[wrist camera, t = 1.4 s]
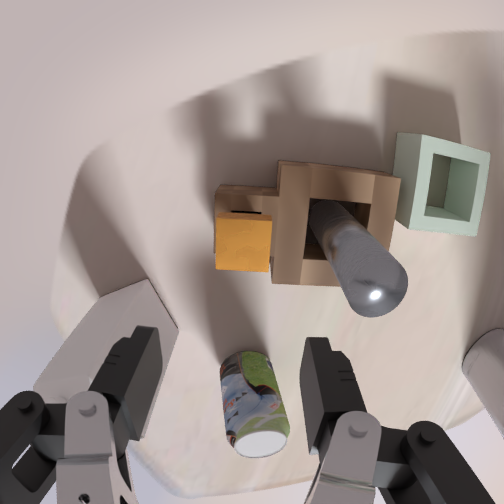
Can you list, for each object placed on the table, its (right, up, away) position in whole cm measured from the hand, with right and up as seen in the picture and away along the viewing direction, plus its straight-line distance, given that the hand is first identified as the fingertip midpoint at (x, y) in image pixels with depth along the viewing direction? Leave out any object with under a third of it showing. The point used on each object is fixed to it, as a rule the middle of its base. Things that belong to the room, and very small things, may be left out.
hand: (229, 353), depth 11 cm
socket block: (+5, +7, +18) cm, 20 cm away
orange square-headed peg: (0, +6, +15) cm, 16 cm away
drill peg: (+8, +7, +18) cm, 21 cm away
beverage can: (+1, -10, +25) cm, 27 cm away
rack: (+18, +11, +16) cm, 27 cm away
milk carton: (-12, -3, +23) cm, 26 cm away
